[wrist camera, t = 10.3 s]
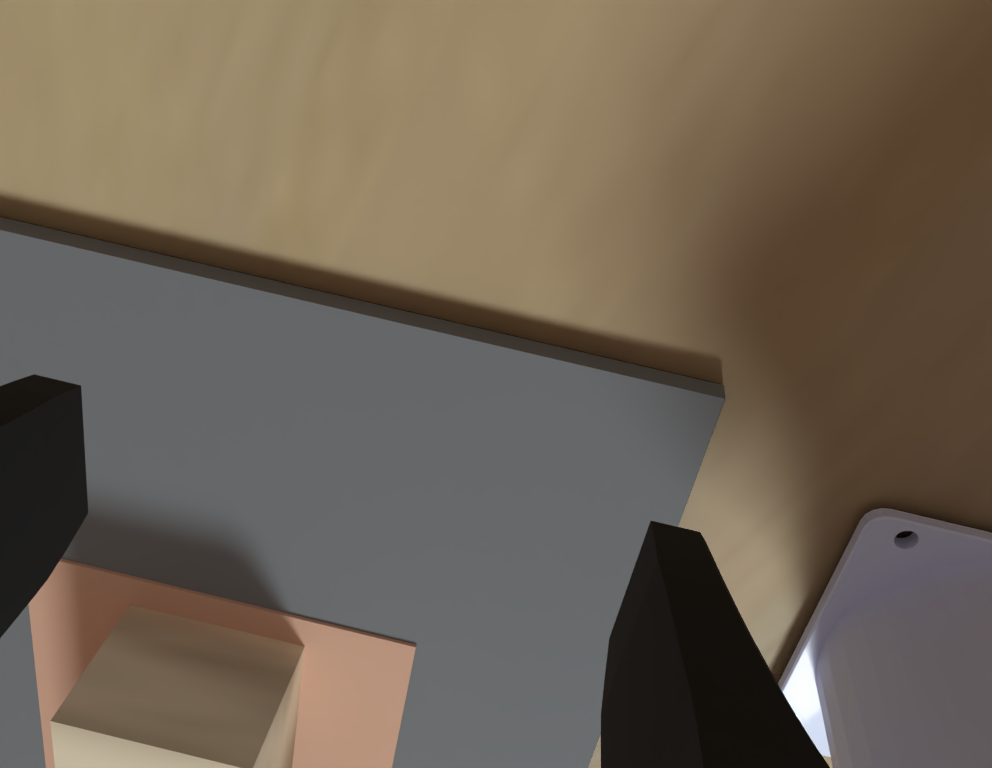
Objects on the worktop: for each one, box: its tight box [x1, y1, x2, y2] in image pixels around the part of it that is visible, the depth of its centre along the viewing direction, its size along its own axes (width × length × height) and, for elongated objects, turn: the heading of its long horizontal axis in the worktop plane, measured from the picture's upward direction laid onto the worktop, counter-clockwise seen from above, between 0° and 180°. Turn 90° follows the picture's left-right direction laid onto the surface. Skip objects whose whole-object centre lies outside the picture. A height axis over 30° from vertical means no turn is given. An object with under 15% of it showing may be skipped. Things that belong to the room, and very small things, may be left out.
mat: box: [0, 217, 725, 768], centre depth 26 cm, size 20×22×1 cm
